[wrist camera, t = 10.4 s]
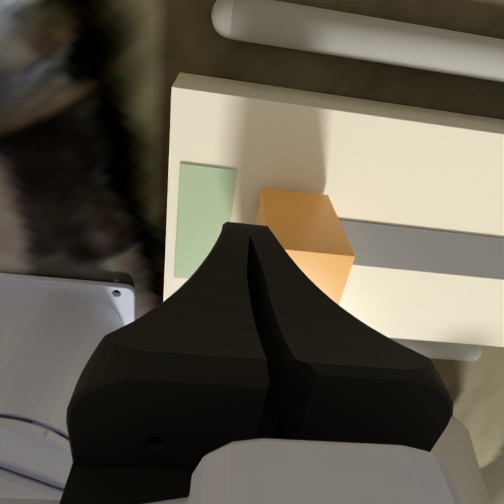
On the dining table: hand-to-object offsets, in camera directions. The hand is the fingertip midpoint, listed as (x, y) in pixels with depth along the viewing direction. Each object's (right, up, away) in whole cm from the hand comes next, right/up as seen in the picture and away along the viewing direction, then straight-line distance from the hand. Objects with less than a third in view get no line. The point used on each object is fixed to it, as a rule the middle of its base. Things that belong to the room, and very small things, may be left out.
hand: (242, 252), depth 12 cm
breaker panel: (+7, +2, +10) cm, 13 cm away
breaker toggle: (+2, +1, +7) cm, 7 cm away
